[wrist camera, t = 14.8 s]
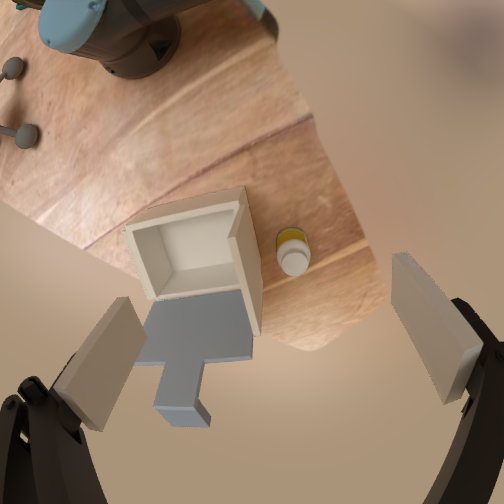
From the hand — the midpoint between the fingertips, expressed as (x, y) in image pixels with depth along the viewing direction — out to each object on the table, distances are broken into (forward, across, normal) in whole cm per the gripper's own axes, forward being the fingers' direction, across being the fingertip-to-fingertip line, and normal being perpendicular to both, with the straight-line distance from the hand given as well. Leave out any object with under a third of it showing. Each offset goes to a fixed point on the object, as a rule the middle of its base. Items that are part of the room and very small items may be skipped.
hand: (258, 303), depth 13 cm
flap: (+16, -13, -15) cm, 26 cm away
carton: (+37, -13, -8) cm, 40 cm away
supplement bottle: (+37, +2, -12) cm, 39 cm away
